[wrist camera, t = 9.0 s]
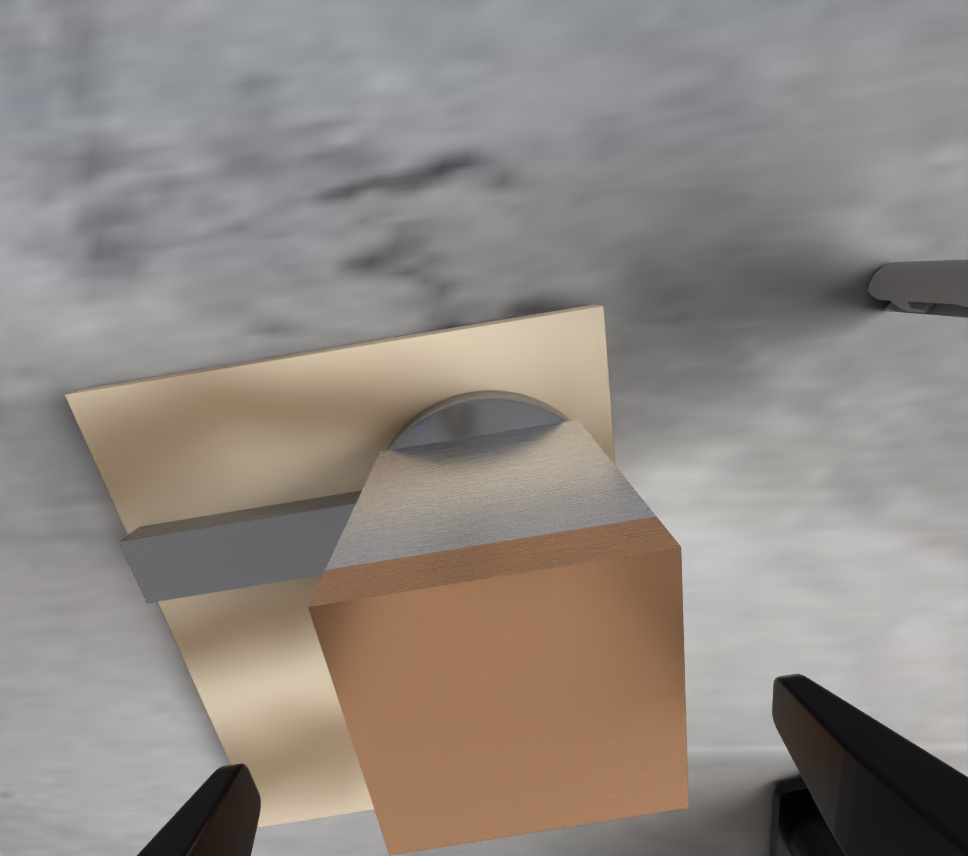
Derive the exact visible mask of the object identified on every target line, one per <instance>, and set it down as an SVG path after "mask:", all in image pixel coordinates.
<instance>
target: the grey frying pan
mask: <svg viewBox="0 0 968 856" xmlns="http://www.w3.org/2000/svg"><path fill="white" fill-rule="evenodd" d="M565 421H571V420H570V419H569V418H567V417H566V416H565V415H564V414H563V413H561V412H560V411H558V410H557V409H555V408H554V407H552V406H550V405H549V404H547V403H545V402H542V401H540V400H538V399H536V398H533V397H530V396H527V395H523V394H520V393H515V392H509V391H500V390H483V391H473V392H467V393H463V394H459V395H455V396H452V397H449V398H446V399H444V400H441V401H439V402H437V403H435V404H433V405H431V406H429V407H427V408H426V409H424V410H423V411H421V412H420V413H419V414H417V415H416V416H414V417H413V418H412V419H411V420H410V421H409V422H408V423H406V424H405V425H404V426H403V427H402V428H401V429H400V431H399V432H398V433H397V434H396V436H395V437H394V438H393V439H392V441H391V443H390V444H389V446H388V447H387V449H386V450H393V449H399V448H405V447H411V446H417V445H423V444H429V443H436V442H442V441H448V440H454V439H460V438H466V437H472V436H479V435H485V434H491V433H497V432H503V431H509V430H515V429H522V428H528V427H534V426H540V425H546V424H552V423H558V422H565ZM361 492H362V490H361V491H355V492H349V493H343V494H336V495H330V496H324V497H318V498H312V499H306V500H300V501H293V502H287V503H281V504H275V505H269V506H263V507H257V508H251V509H244V510H238V511H232V512H226V513H220V514H214V515H208V516H201V517H195V518H189V519H183V520H177V521H171V522H165V523H159V524H152V525H146V526H140V527H138V528H137V529H136V530H134V531H133V532H132V533H131V534H129V535H128V536H127V537H125V538H124V539H123V540H122V541H120V542H119V543H120V545H121V547H122V549H123V552H124V554H125V556H126V558H127V560H128V563H129V565H130V567H131V569H132V571H133V573H134V576H135V578H136V580H137V582H138V584H139V587H140V589H141V591H142V593H143V595H144V597H145V600H146V602H147V603H152V602H158V601H165V600H171V599H177V598H183V597H189V596H196V595H202V594H208V593H214V592H220V591H226V590H233V589H239V588H245V587H251V586H257V585H263V584H270V583H276V582H282V581H288V580H294V579H300V578H307V577H313V576H319V575H323V574H324V571H325V569H326V567H327V565H328V563H329V561H330V559H331V556H332V554H333V552H334V550H335V548H336V546H337V543H338V541H339V539H340V537H341V535H342V533H343V531H344V528H345V526H346V524H347V522H348V520H349V518H350V516H351V513H352V511H353V509H354V507H355V505H356V503H357V500H358V498H359V496H360V494H361Z"/></svg>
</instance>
